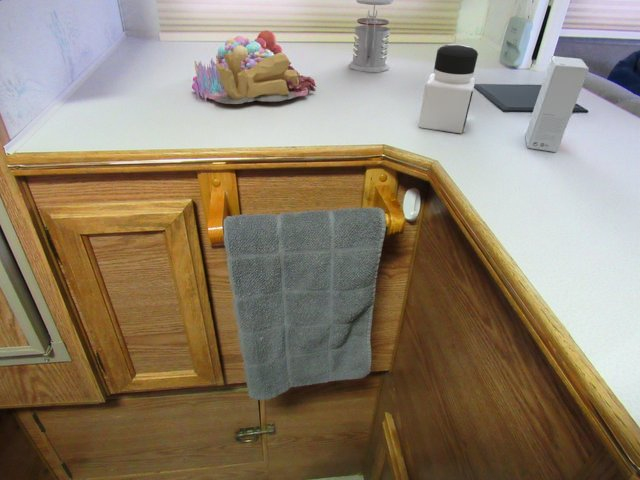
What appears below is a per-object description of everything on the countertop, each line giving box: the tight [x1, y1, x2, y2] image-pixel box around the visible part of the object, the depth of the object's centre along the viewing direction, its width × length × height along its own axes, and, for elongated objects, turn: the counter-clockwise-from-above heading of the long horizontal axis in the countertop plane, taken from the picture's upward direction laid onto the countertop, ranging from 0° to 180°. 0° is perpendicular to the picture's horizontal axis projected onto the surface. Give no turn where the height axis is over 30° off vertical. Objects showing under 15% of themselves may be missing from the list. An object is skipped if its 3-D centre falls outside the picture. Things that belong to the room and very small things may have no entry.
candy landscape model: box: [191, 29, 317, 105], centre depth 81 cm, size 25×24×9 cm
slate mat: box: [474, 83, 589, 114], centre depth 83 cm, size 16×16×1 cm
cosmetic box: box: [525, 55, 590, 153], centre depth 62 cm, size 6×4×12 cm
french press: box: [348, 0, 395, 73], centre depth 92 cm, size 10×12×25 cm
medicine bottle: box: [418, 44, 479, 135], centre depth 67 cm, size 7×7×12 cm
